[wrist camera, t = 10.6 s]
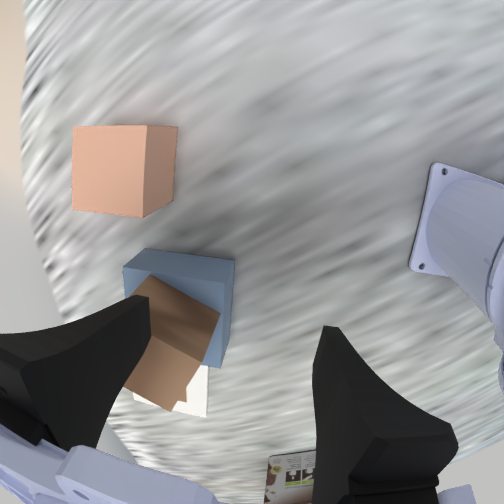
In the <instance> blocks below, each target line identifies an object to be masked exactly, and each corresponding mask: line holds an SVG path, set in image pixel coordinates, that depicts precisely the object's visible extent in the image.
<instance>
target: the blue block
mask: <svg viewBox="0 0 504 504" xmlns="http://www.w3.org/2000/svg"><path fill="white" fill-rule="evenodd" d="M234 268H235V260H229V259H221V258H213V257H206V256H199V255H191V254H184V253H176V252H169V251H162V250H154V249H147V248H145V249H144V250H142V251H141V252H140V253H139V254H138V255H136V256H135V257H134V258H133V259H132V260H130V261H129V262H128V263H127V264H126V265H124V266H123V278H124V289H125V299H126V298H128V297H129V296H130V295H131V294H132V293H133V292H134V291H135V290H136V289H137V287H138V286H139V285H140V284H141V283H142V282H143V281H144V280H145V279H146V278H147V277H148V276H149V275H150V274H151V275H153V276H155V277H156V278H158V279H160V280H161V281H163V282H165V283H167V284H168V285H170V286H172V287H174V288H175V289H177V290H179V291H181V292H183V293H184V294H186V295H188V296H190V297H192V298H193V299H195V300H197V301H199V302H201V303H202V304H204V305H206V306H208V307H210V308H212V309H214V310H215V311H217V312H219V313H221V314H220V317H219V320H218V322H217V325H216V328H215V330H214V333H213V335H212V338H211V341H210V343H209V346H208V349H207V351H206V354H205V356H204V359H203V362H202V364H201V365H204V366H209V367H215V368H221V365H222V362H223V358H224V355H225V352H226V349H227V345H228V342H229V337H230V323H231V308H232V294H233V281H234Z"/></svg>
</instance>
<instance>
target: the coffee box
mask: <svg viewBox="0 0 504 504" xmlns="http://www.w3.org/2000/svg"><path fill="white" fill-rule="evenodd" d="M315 460H316V450H315V451H309V452H302V453H295V454H287V455H278V456H271V457H270V458H269V464H268V472H267V480H266V488H265V497H264V504H311V501H312V493H313V484H314V473H315Z"/></svg>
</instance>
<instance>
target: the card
mask: <svg viewBox="0 0 504 504" xmlns="http://www.w3.org/2000/svg"><path fill="white" fill-rule="evenodd" d="M208 372H209V366H204V365H200V367H199V368H198V370H197V372H196V373H195V375H194V376H193V378H192V379H191V381H190V382H189V384H188V386H187V387H186V389H185V390H184V392H183V393H182V395H181V397H180V398H179V400H178V401H177V403H176V404H175V406H174V407H173V409H172V410H174V411H178V412H182V413H186V414H190V415H195V416H199V417H204V418H206V417H207V400H208ZM133 396H134V400H137V401H141V402H144V403H148V404H151V405H155V406H158V405H156V404H154V403H152V402H150V401H148V400H147V399H145V398H143V397H141V396H139V395H137V394H136V393H134V392H133ZM158 407H160V406H158Z"/></svg>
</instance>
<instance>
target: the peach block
mask: <svg viewBox="0 0 504 504" xmlns="http://www.w3.org/2000/svg"><path fill="white" fill-rule="evenodd" d="M177 132H178V127H168V126H150V125H113V126H84V127H73V146H72V207H73V210H80V211H89V212H97V213H106V214H114V215H122V216H130V217H138V218H144V217H145V216H147V215H149V214H150V213H152V212H154V211H156V210H157V209H159V208H161V207H162V206H164V205H166V204H168V203H169V202H171V201H173V185H174V169H175V156H176V143H177Z"/></svg>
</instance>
